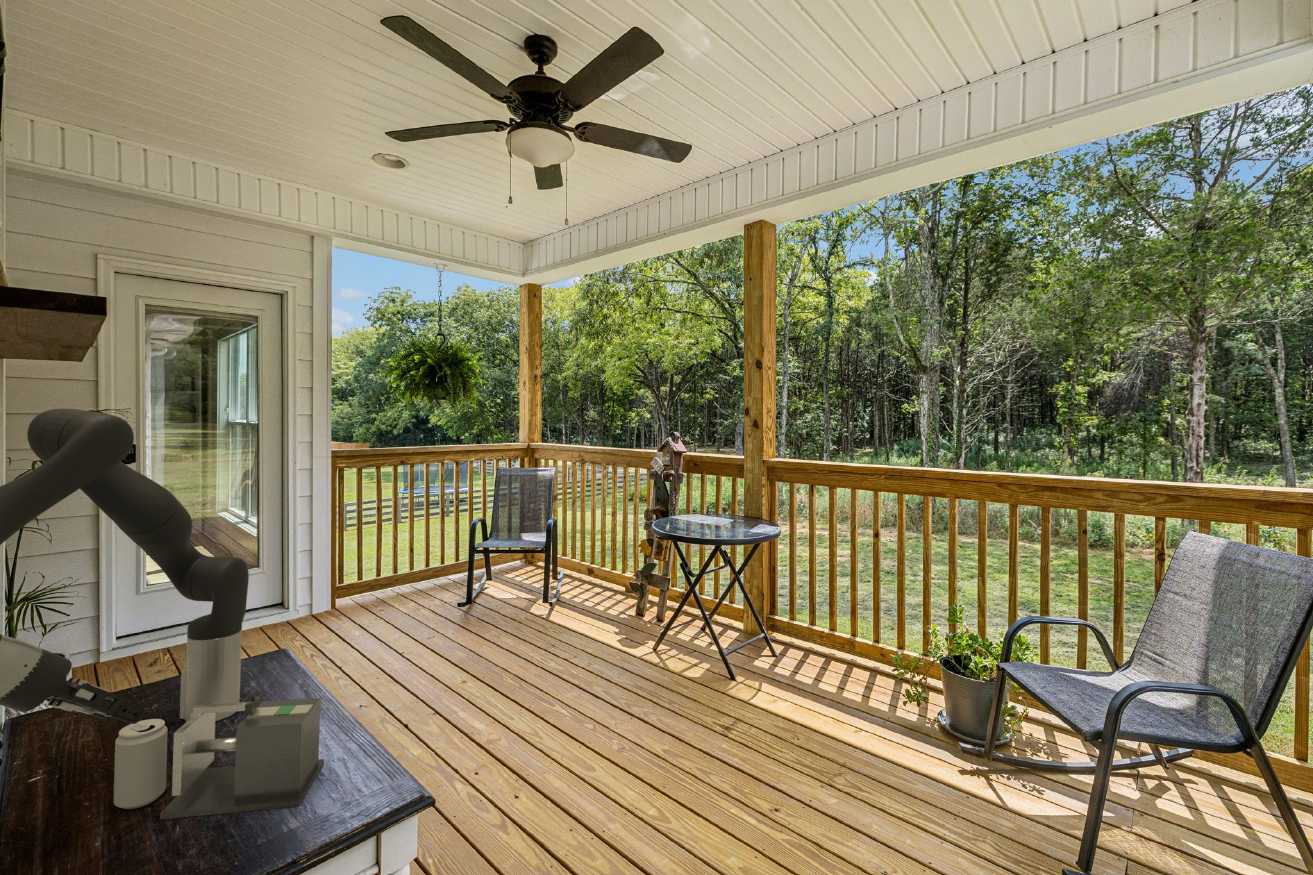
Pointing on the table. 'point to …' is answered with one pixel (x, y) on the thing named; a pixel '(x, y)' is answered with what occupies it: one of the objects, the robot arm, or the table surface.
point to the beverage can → (140, 763)
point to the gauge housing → (260, 764)
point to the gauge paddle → (199, 744)
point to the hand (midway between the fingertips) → (126, 715)
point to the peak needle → (252, 703)
